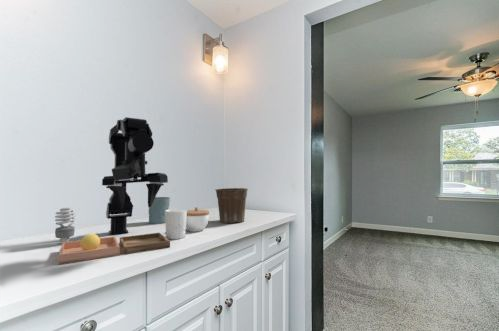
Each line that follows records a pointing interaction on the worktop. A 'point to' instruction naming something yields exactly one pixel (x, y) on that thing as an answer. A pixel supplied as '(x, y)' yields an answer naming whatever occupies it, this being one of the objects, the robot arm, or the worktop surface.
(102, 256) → the dish
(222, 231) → the worktop surface
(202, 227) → the lidded jar
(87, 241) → the ball
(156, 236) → the tray
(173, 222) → the white cup
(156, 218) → the teal cup
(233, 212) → the plant pot
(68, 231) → the light bulb
